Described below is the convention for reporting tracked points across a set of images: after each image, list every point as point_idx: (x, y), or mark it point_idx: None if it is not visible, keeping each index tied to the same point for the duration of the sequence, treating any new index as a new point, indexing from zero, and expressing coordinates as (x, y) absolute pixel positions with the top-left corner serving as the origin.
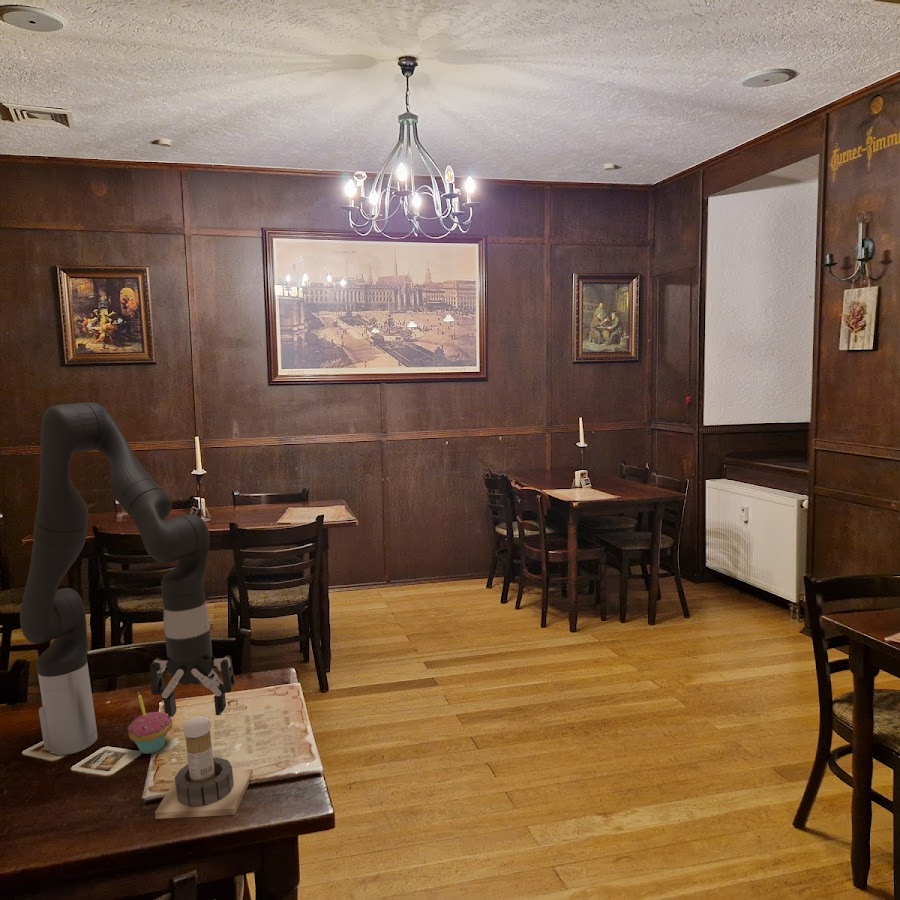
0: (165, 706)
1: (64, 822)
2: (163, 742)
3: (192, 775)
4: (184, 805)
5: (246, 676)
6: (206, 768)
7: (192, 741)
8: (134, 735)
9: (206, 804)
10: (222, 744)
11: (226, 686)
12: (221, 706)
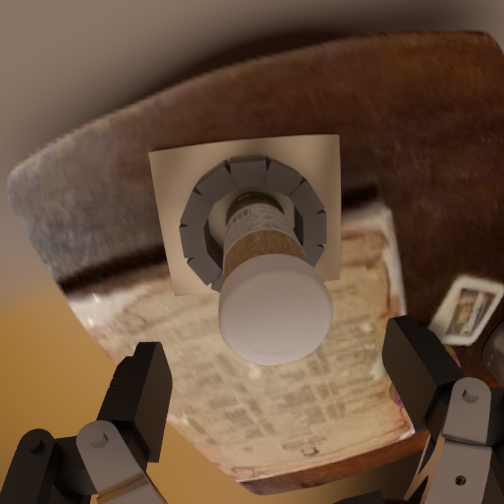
0: (440, 349)
1: (484, 143)
2: None
3: (274, 209)
4: (278, 159)
5: (309, 485)
6: (233, 223)
7: (273, 249)
8: (448, 351)
9: (222, 161)
10: (288, 374)
11: (32, 463)
12: (123, 377)
